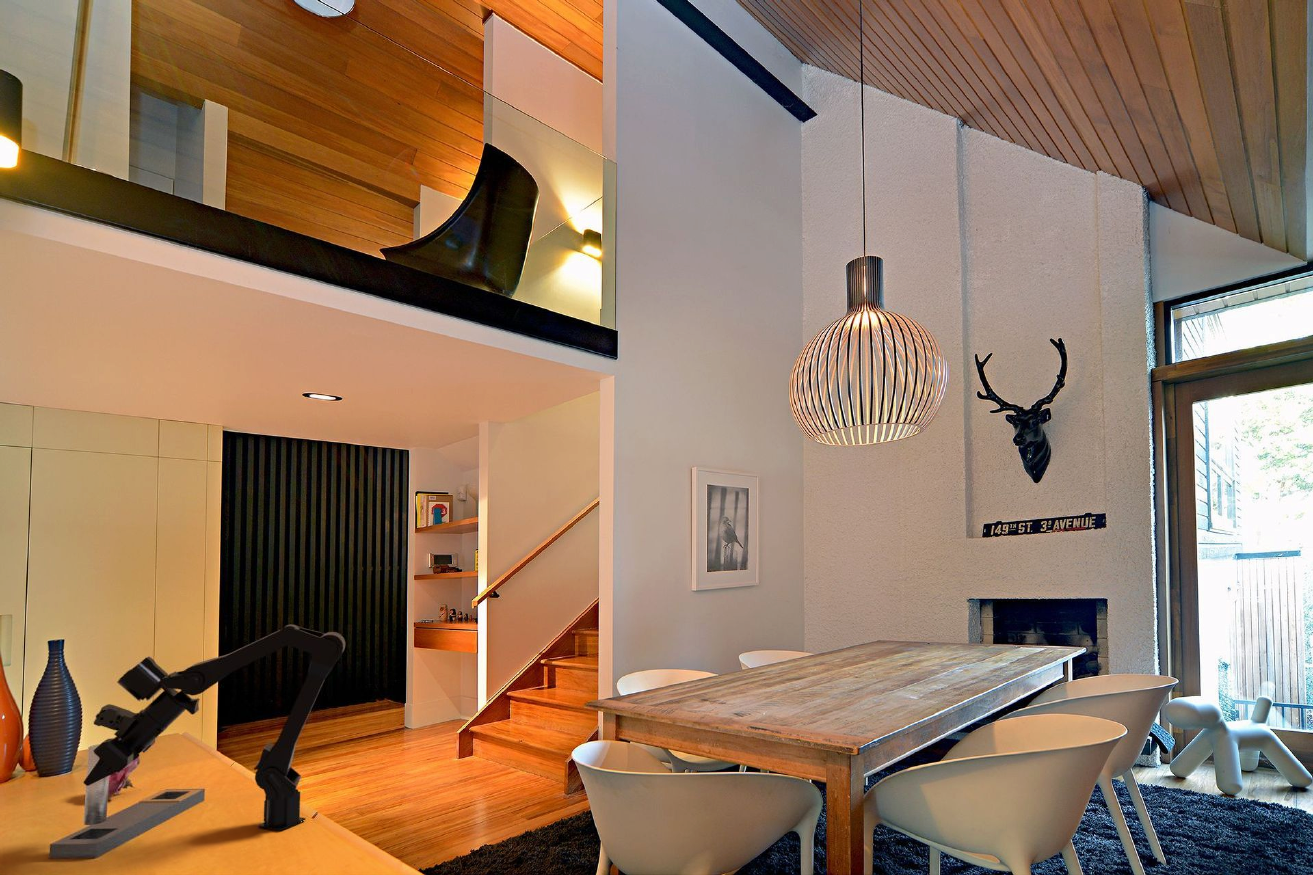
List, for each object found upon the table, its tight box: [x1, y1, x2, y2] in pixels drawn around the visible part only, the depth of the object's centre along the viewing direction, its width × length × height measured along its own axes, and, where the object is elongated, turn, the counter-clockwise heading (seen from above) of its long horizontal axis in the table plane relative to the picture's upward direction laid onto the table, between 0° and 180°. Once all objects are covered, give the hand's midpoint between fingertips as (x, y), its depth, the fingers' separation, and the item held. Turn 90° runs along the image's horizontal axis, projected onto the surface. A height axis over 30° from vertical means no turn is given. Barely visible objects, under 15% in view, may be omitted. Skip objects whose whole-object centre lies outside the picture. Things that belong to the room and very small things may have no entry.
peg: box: [83, 743, 109, 826], centre depth 154 cm, size 4×4×14 cm
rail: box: [48, 788, 206, 859], centre depth 164 cm, size 33×9×3 cm, turn 178°
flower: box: [108, 756, 141, 800], centre depth 185 cm, size 11×10×10 cm
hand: (89, 781), depth 154 cm, fingers closed on peg, 4 cm apart
